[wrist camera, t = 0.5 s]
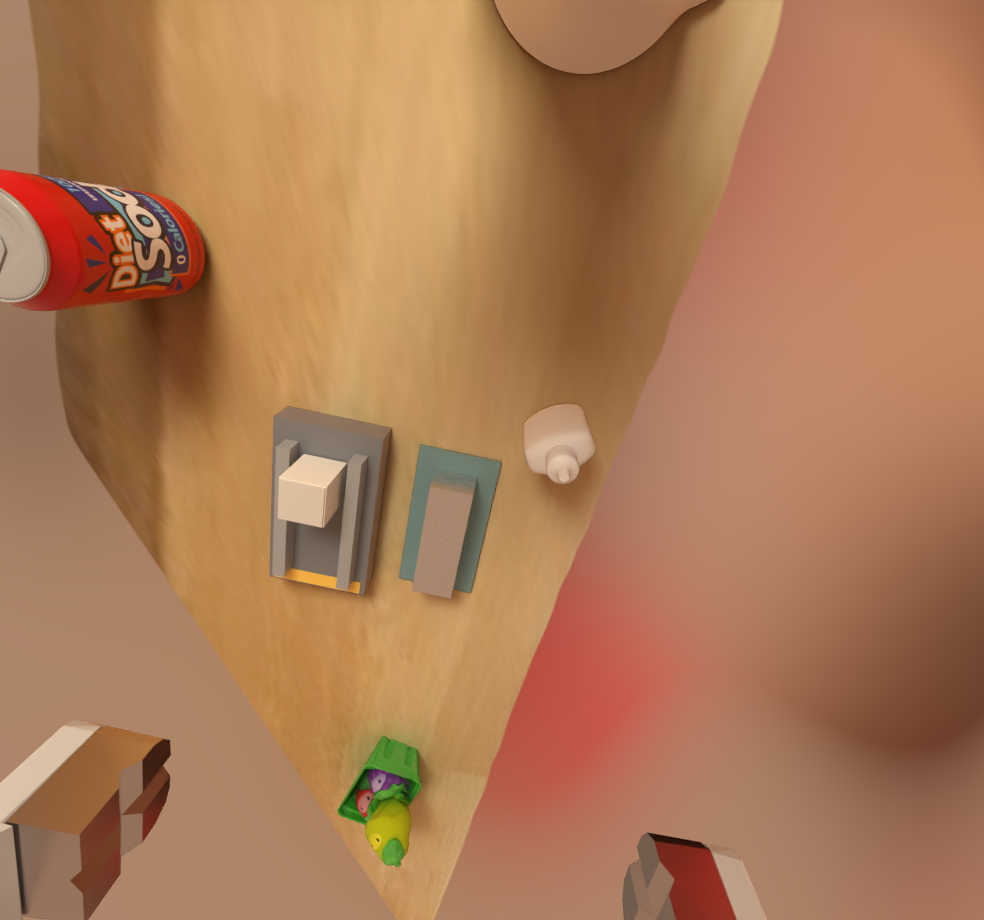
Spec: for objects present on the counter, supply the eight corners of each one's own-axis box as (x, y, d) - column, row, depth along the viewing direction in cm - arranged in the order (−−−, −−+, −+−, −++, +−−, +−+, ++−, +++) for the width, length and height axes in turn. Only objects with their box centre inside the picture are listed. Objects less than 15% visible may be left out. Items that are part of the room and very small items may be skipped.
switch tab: (304, 453, 45) (277, 478, 40) (347, 462, 45) (325, 488, 40) (302, 491, 46) (276, 519, 42) (343, 500, 46) (322, 528, 42)
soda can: (106, 252, 42) (-99, 253, 28) (141, 171, 39) (-66, 127, 25) (187, 313, 43) (32, 342, 30) (227, 239, 41) (77, 233, 27)
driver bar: (437, 468, 48) (430, 486, 44) (477, 476, 48) (473, 495, 44) (419, 566, 52) (411, 590, 49) (455, 574, 53) (450, 598, 49)
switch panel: (288, 406, 46) (262, 423, 42) (391, 428, 47) (377, 447, 42) (282, 559, 54) (259, 588, 49) (372, 578, 54) (357, 608, 49)
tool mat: (420, 444, 47) (420, 445, 47) (501, 461, 47) (501, 462, 47) (399, 576, 53) (399, 578, 53) (470, 591, 54) (470, 592, 53)
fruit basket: (377, 725, 63) (348, 818, 53) (439, 749, 64) (422, 845, 54) (348, 775, 68) (316, 870, 57) (406, 797, 69) (385, 894, 58)
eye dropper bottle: (578, 449, 46) (595, 511, 35) (520, 439, 46) (519, 498, 35) (589, 405, 45) (611, 456, 34) (529, 395, 45) (530, 443, 34)
